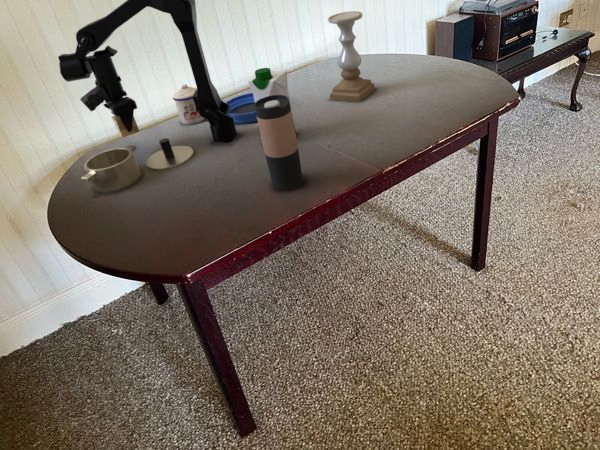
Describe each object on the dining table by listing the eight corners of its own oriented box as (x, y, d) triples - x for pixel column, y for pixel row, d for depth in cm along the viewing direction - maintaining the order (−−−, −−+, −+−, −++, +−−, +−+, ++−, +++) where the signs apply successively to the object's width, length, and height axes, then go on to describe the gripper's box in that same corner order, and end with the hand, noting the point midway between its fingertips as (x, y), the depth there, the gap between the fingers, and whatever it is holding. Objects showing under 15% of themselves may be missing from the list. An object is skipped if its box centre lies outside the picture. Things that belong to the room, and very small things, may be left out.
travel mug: (271, 177, 113) (253, 98, 101) (302, 172, 113) (288, 92, 101) (272, 193, 107) (253, 111, 95) (305, 187, 106) (290, 104, 95)
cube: (134, 127, 137) (128, 110, 134) (139, 131, 133) (133, 115, 130) (118, 132, 135) (111, 116, 132) (122, 137, 131) (115, 121, 128)
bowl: (214, 124, 148) (211, 113, 146) (240, 102, 161) (238, 92, 159) (264, 125, 141) (262, 114, 139) (287, 101, 154) (285, 91, 152)
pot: (156, 166, 129) (148, 144, 125) (112, 201, 116) (101, 177, 112) (123, 163, 134) (114, 142, 130) (77, 196, 121) (65, 173, 117)
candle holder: (375, 88, 150) (370, 9, 137) (360, 102, 143) (353, 20, 130) (345, 87, 156) (337, 11, 142) (329, 99, 149) (319, 21, 135)
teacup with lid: (185, 127, 149) (174, 92, 143) (177, 120, 156) (166, 86, 150) (219, 115, 153) (210, 81, 147) (210, 109, 160) (201, 75, 154)
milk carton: (259, 145, 129) (243, 73, 118) (274, 131, 136) (259, 62, 124) (287, 146, 126) (273, 73, 114) (301, 132, 132) (289, 61, 121)
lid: (203, 150, 133) (197, 130, 129) (175, 173, 123) (168, 153, 120) (167, 147, 138) (160, 129, 135) (137, 170, 129) (129, 150, 125)
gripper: (69, 77, 128) (92, 130, 137) (83, 91, 115) (107, 148, 123) (108, 65, 132) (129, 117, 141) (126, 77, 119) (147, 133, 128)
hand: (127, 128), depth 133 cm, fingers closed on cube, 5 cm apart
